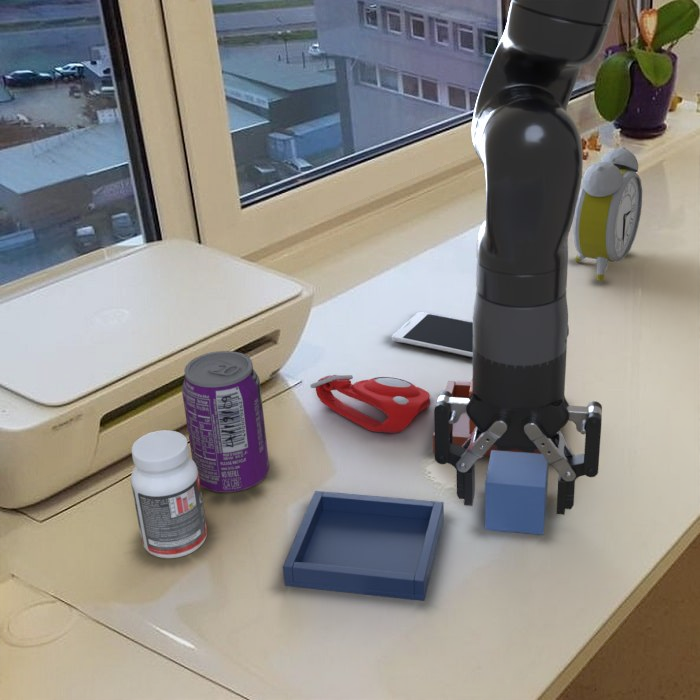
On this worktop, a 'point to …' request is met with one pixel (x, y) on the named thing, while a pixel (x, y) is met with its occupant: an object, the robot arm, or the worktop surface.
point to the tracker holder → (375, 400)
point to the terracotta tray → (466, 419)
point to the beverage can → (225, 421)
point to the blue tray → (366, 545)
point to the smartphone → (437, 334)
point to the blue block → (516, 492)
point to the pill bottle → (167, 495)
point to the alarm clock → (608, 209)
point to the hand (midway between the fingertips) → (515, 504)
